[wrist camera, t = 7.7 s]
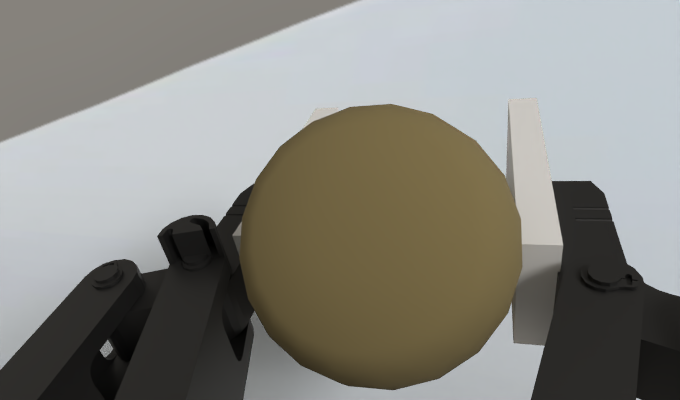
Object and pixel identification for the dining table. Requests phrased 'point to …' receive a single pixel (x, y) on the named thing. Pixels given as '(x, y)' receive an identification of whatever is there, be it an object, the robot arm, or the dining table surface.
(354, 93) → the dining table surface
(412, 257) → the cork
